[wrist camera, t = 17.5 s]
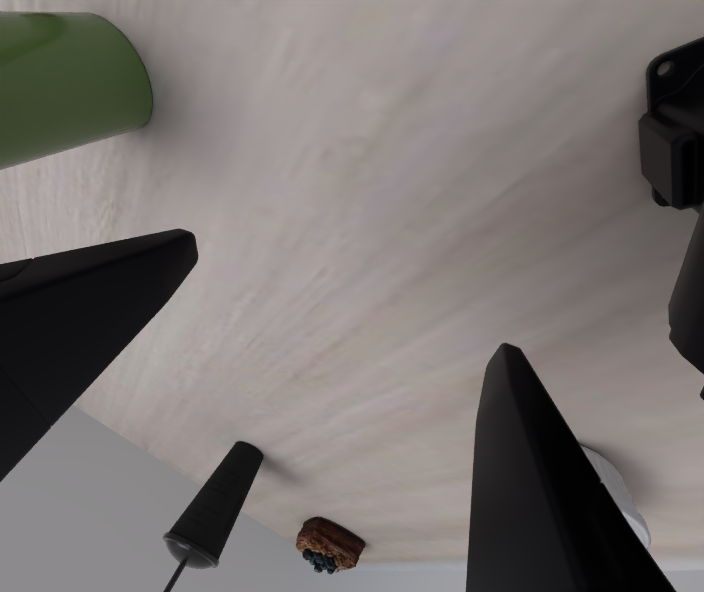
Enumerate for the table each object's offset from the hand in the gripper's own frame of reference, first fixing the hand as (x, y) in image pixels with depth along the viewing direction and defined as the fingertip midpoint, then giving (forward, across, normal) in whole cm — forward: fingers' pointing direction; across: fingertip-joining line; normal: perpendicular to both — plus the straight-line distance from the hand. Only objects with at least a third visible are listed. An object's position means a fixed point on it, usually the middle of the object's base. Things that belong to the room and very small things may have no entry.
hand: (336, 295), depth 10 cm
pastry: (+13, -4, +68) cm, 70 cm away
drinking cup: (+13, +12, +48) cm, 52 cm away
